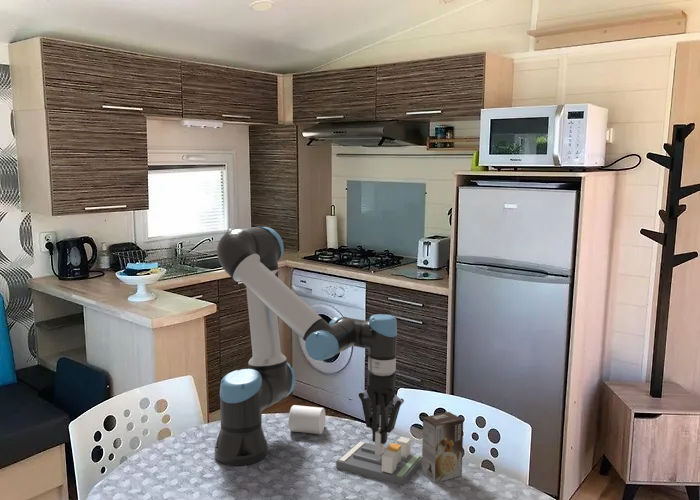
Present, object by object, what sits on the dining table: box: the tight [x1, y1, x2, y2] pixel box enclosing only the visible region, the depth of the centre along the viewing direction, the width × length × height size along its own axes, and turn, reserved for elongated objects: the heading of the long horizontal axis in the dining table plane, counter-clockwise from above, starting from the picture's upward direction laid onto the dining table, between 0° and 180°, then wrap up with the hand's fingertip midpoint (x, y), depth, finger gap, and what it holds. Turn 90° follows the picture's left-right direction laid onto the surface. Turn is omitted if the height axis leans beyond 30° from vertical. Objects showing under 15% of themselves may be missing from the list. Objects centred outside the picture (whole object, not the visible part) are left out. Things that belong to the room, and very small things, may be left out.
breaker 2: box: [396, 436, 412, 458], centre depth 165 cm, size 3×3×4 cm
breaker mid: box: [386, 442, 401, 464], centre depth 161 cm, size 3×3×4 cm
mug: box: [288, 404, 326, 435], centre depth 186 cm, size 12×10×8 cm
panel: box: [335, 441, 422, 487], centre depth 163 cm, size 20×14×3 cm
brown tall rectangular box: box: [421, 411, 464, 484], centre depth 158 cm, size 9×6×16 cm
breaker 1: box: [382, 451, 397, 474], centre depth 156 cm, size 3×3×4 cm
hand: (379, 453), depth 163 cm, fingers closed
